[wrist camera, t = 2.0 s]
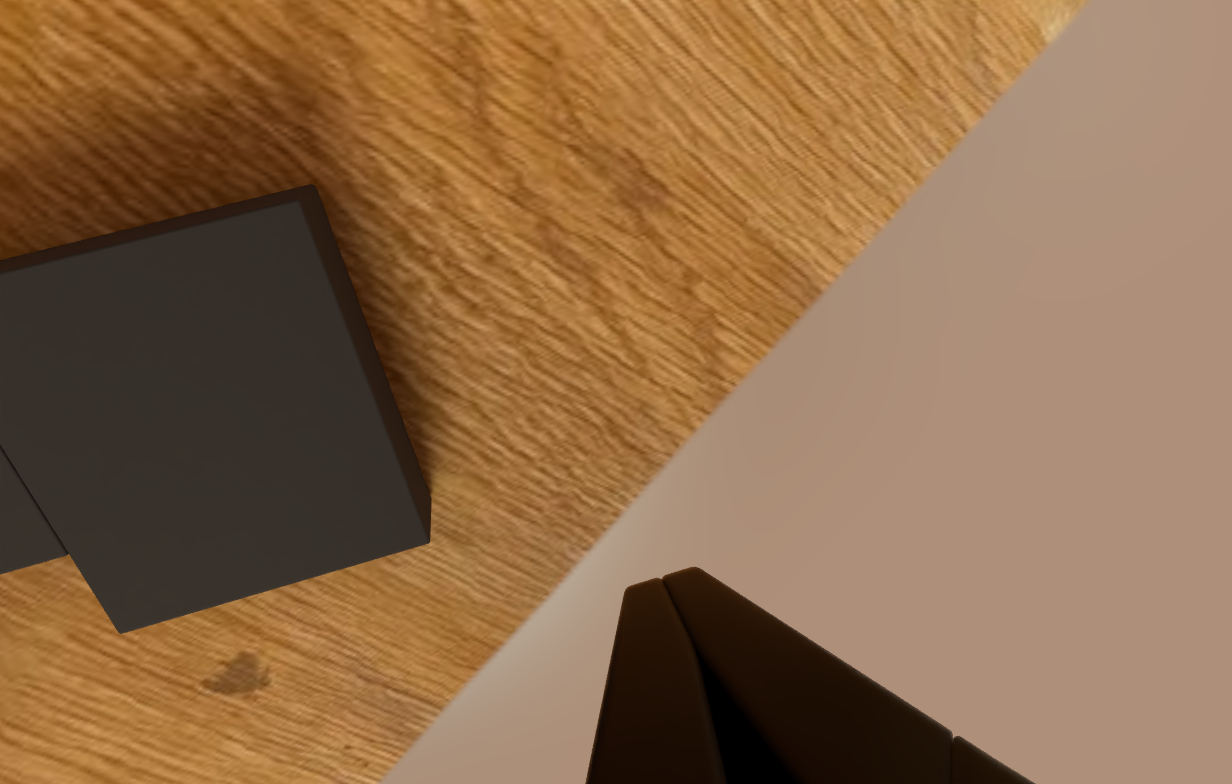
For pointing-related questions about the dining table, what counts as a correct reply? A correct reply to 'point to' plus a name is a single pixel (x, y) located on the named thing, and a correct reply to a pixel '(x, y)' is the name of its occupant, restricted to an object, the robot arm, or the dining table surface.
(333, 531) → the dark grey tabbed block
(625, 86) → the dining table surface
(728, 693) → the robot arm
